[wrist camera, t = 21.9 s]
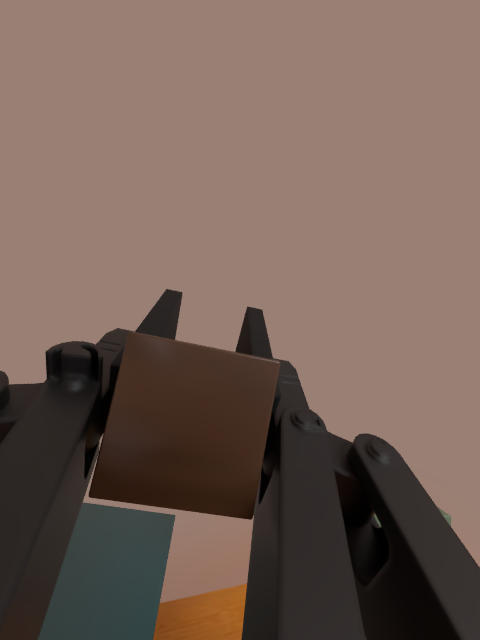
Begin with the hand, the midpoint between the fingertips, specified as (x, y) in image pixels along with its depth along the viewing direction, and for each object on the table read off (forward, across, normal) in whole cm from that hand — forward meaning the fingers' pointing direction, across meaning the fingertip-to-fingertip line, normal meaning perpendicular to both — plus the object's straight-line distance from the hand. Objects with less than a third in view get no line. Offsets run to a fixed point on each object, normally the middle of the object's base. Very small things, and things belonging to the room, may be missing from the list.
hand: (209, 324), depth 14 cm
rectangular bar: (+2, 0, -6) cm, 7 cm away
